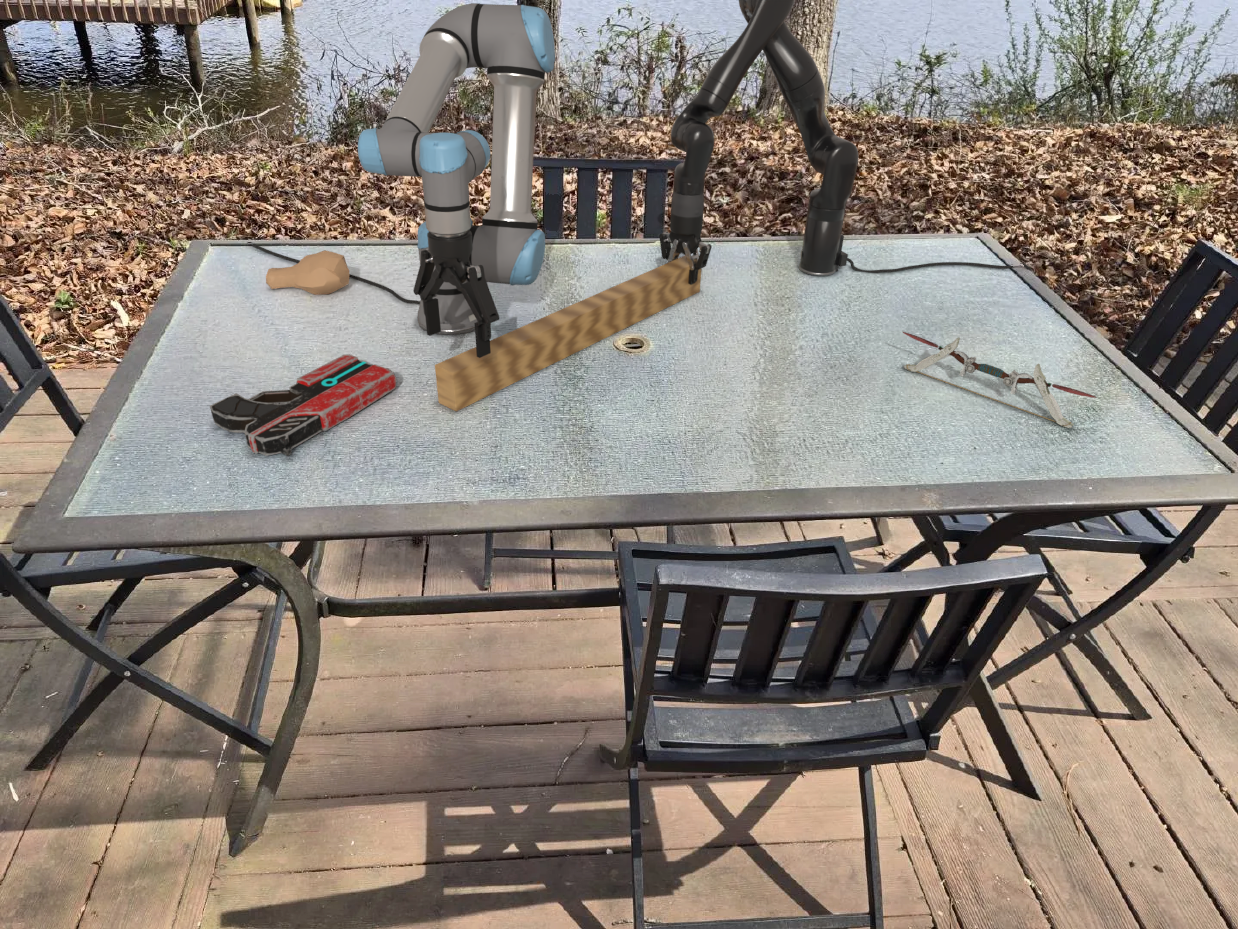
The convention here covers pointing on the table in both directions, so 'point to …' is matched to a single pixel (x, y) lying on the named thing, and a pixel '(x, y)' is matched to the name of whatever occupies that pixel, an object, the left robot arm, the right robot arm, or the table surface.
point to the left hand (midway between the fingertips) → (458, 343)
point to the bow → (1009, 379)
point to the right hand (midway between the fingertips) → (682, 280)
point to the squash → (312, 274)
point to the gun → (304, 405)
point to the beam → (561, 334)
